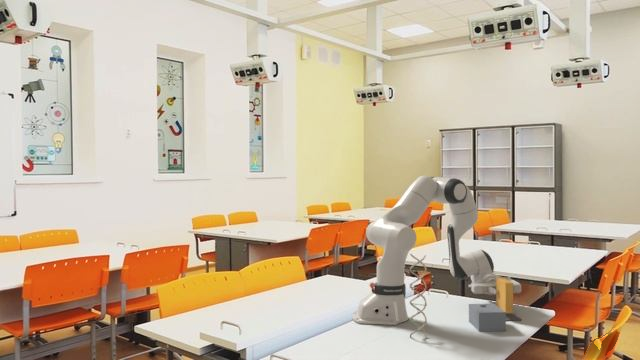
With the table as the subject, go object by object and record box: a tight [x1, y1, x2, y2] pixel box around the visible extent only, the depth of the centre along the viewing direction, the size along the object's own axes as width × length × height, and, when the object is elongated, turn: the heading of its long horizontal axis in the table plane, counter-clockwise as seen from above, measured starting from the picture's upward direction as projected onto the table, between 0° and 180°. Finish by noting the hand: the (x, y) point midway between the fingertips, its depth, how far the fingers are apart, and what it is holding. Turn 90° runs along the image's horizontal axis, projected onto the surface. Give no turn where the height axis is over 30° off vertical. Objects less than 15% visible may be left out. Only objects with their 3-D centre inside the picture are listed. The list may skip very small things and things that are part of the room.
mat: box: [506, 312, 522, 322], centre depth 209 cm, size 10×10×1 cm
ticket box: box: [468, 303, 507, 332], centre depth 198 cm, size 10×12×7 cm
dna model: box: [408, 253, 428, 340], centre depth 185 cm, size 7×6×30 cm
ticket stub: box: [495, 277, 514, 314], centre depth 209 cm, size 3×10×12 cm, turn 2°
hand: (502, 292), depth 211 cm, fingers closed on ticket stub, 3 cm apart
